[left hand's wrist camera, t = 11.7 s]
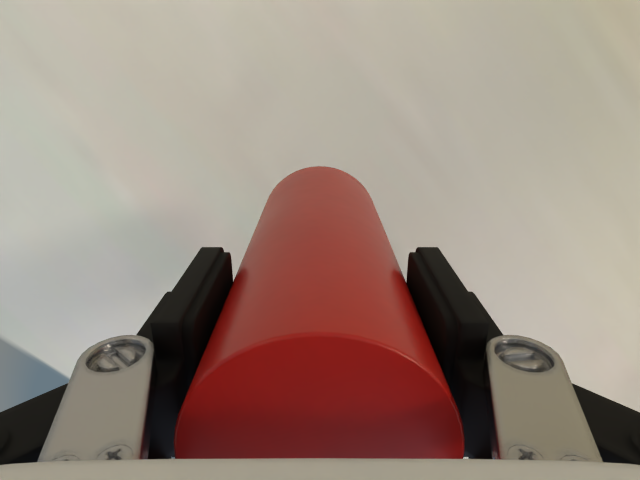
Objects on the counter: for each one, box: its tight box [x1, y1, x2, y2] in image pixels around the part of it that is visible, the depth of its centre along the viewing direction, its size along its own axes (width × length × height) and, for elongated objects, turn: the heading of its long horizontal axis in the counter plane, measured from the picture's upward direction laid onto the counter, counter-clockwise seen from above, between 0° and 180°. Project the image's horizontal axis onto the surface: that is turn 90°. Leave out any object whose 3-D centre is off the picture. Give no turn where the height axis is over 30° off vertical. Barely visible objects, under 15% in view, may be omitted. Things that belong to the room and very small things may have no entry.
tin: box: [174, 166, 465, 459], centre depth 13 cm, size 5×5×12 cm
